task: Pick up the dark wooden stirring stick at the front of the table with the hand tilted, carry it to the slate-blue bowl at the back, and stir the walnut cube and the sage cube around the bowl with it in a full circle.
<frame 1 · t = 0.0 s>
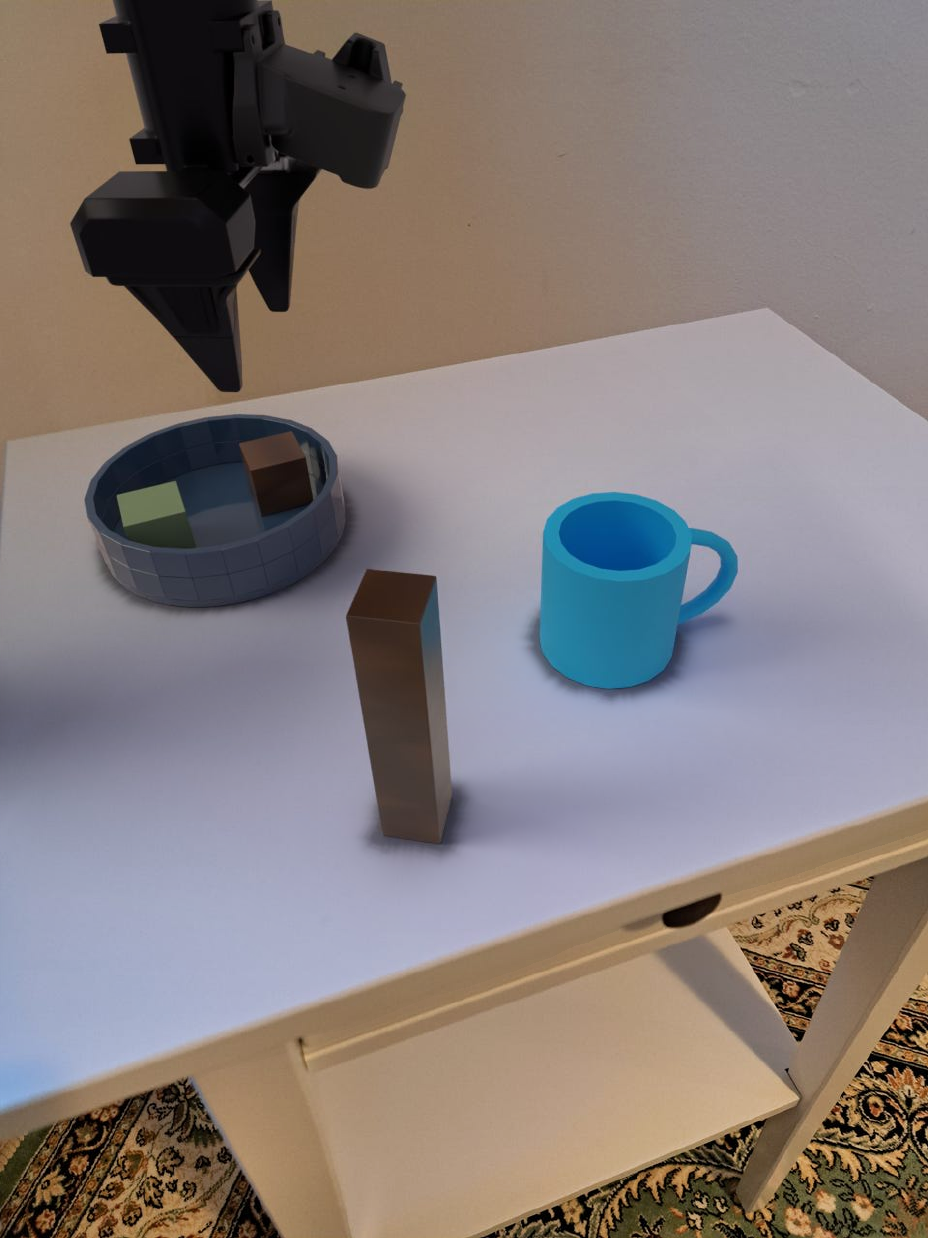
hand: (257, 347, 46), 18 cm above the table, tool pointing down, fingers open, 9 cm apart
stick: (418, 815, 45), on the table
bowl: (227, 528, 64), on the table
walnut cube: (281, 496, 66), point 1 cm above the table, touching bowl
sage cube: (166, 550, 62), point 1 cm above the table, touching bowl
mug: (635, 636, 55), on the table
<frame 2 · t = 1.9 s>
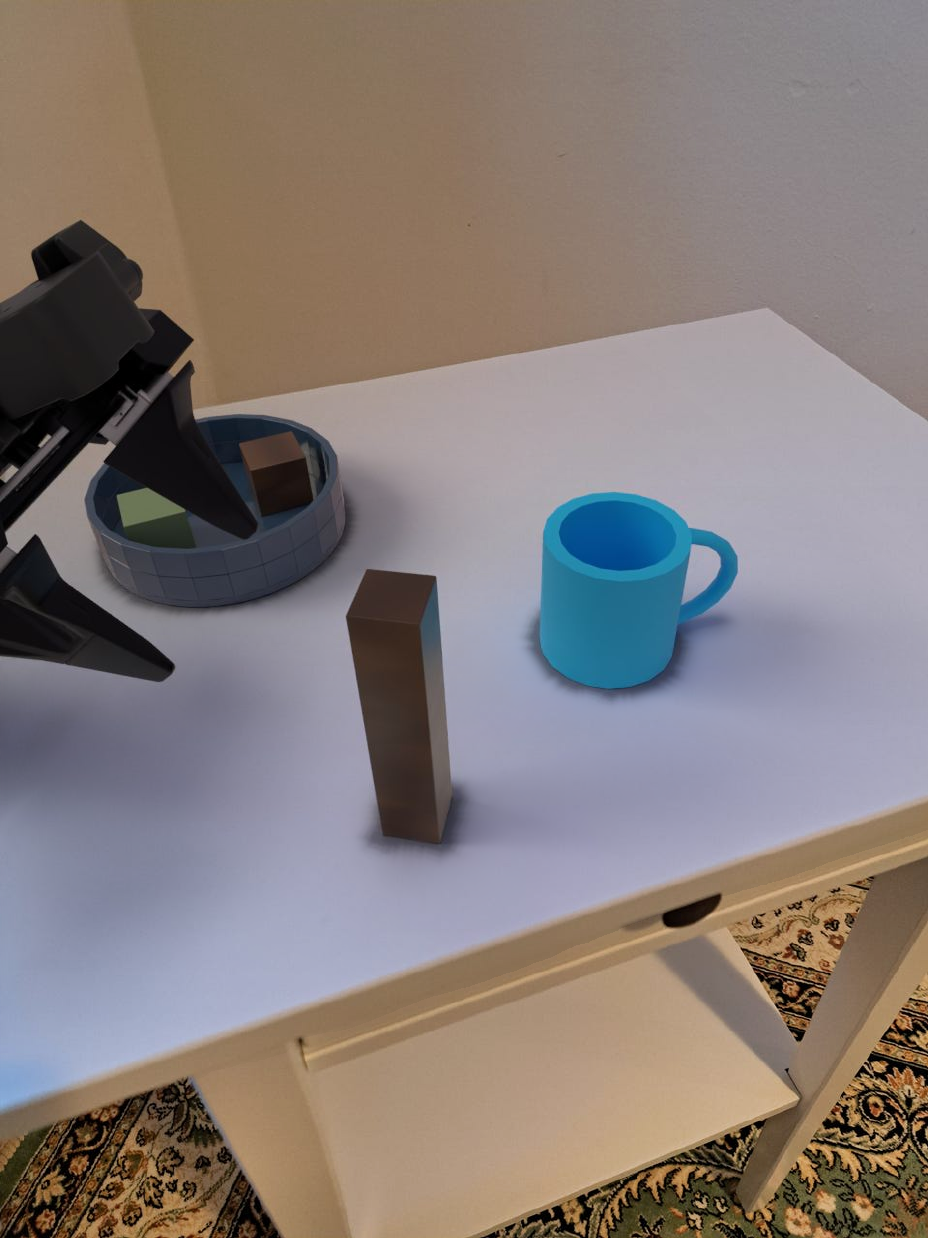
hand: (214, 598, 38), 13 cm above the table, tool tilted 45°, fingers open, 9 cm apart
nothing on the table moved.
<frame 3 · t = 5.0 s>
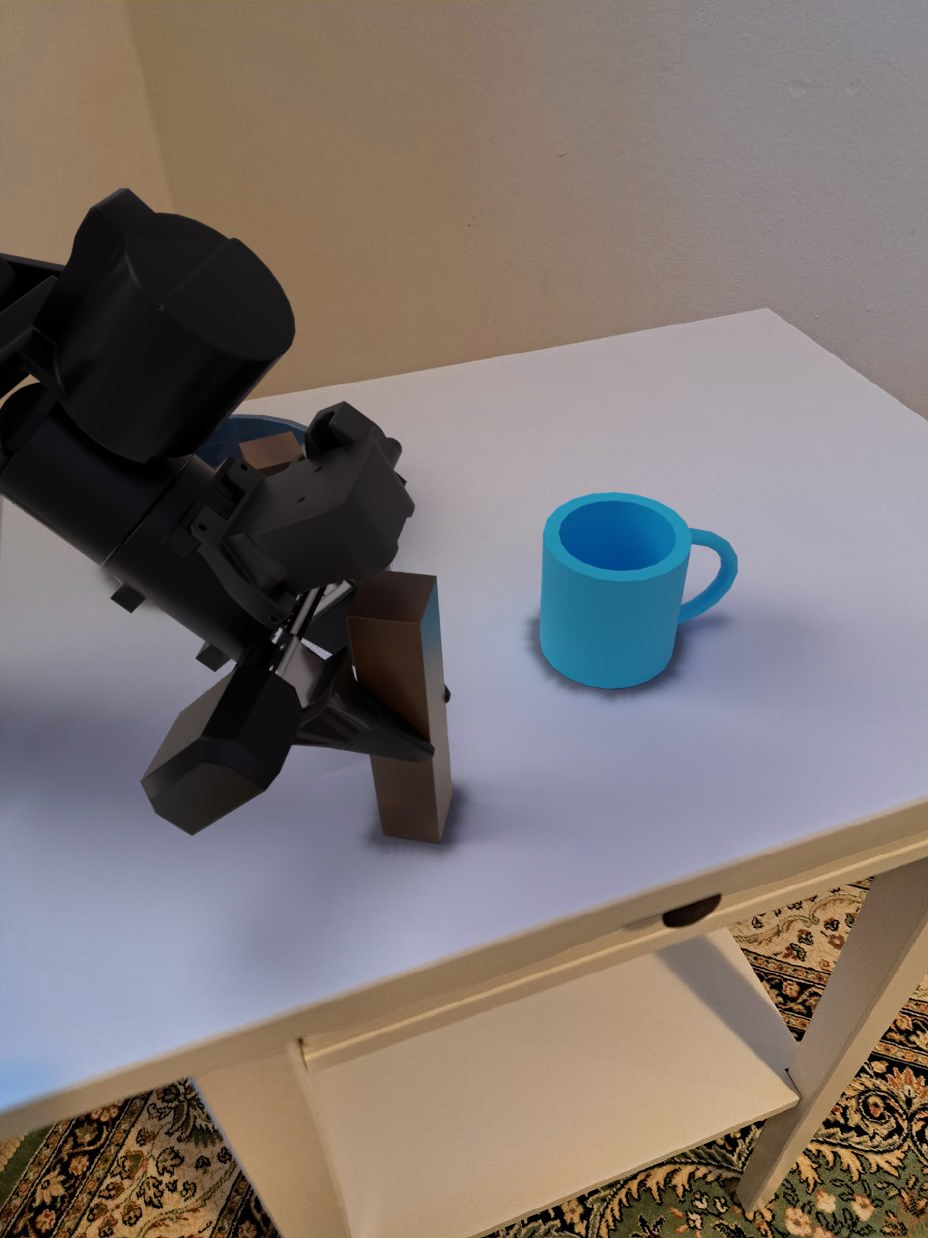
hand: (436, 729, 40), 7 cm above the table, tool tilted 45°, fingers closed on stick, 3 cm apart
stick: (418, 815, 45), on the table, touching gripper
everything else where it was.
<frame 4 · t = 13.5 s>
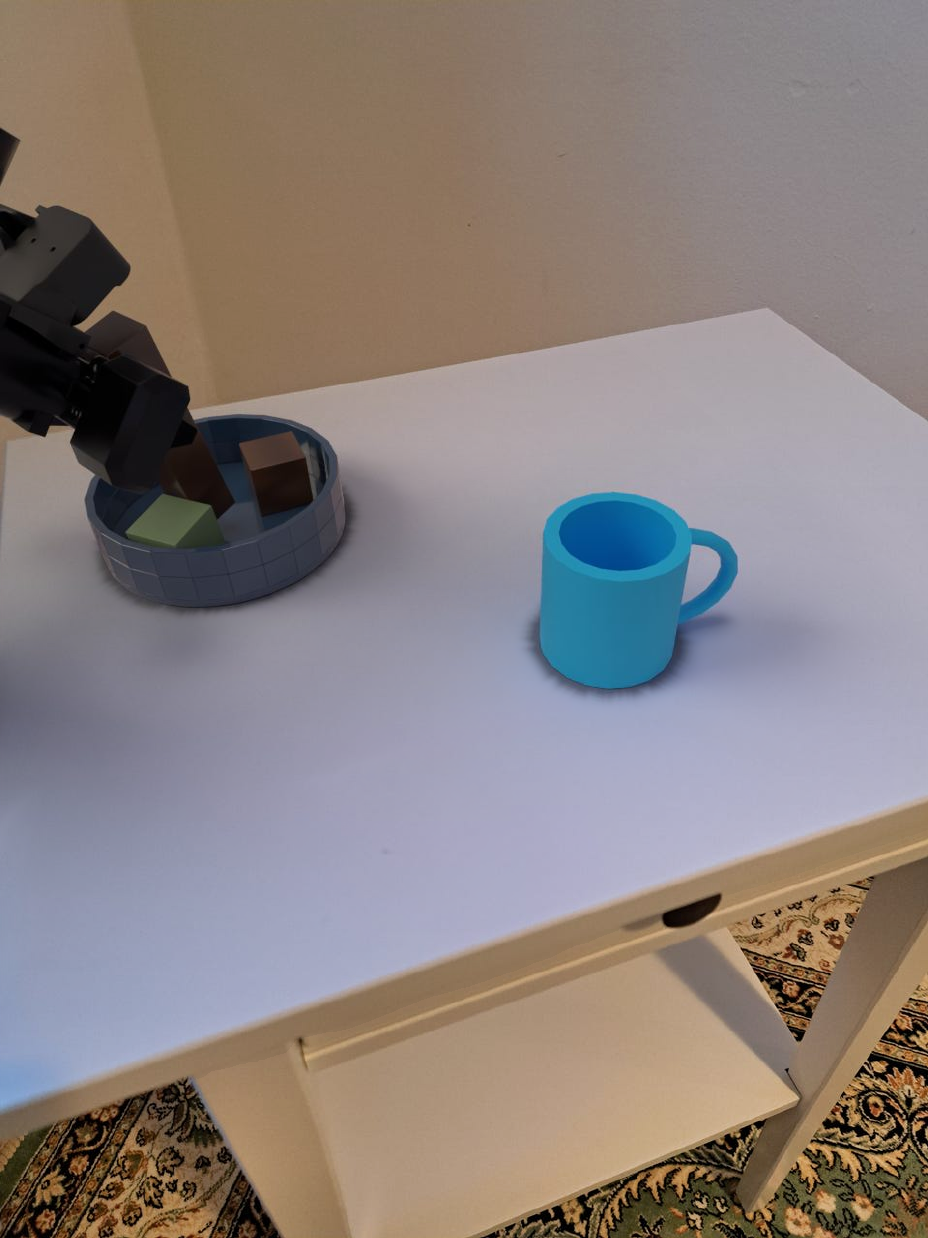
hand: (178, 426, 57), 10 cm above the table, tool tilted 45°, fingers closed on stick, 3 cm apart
stick: (206, 508, 62), point 2 cm above the table, tilted 14°, touching gripper, sage cube
sage cube: (188, 562, 60), point 1 cm above the table, tilted 6°, touching bowl, stick
everything else where it was.
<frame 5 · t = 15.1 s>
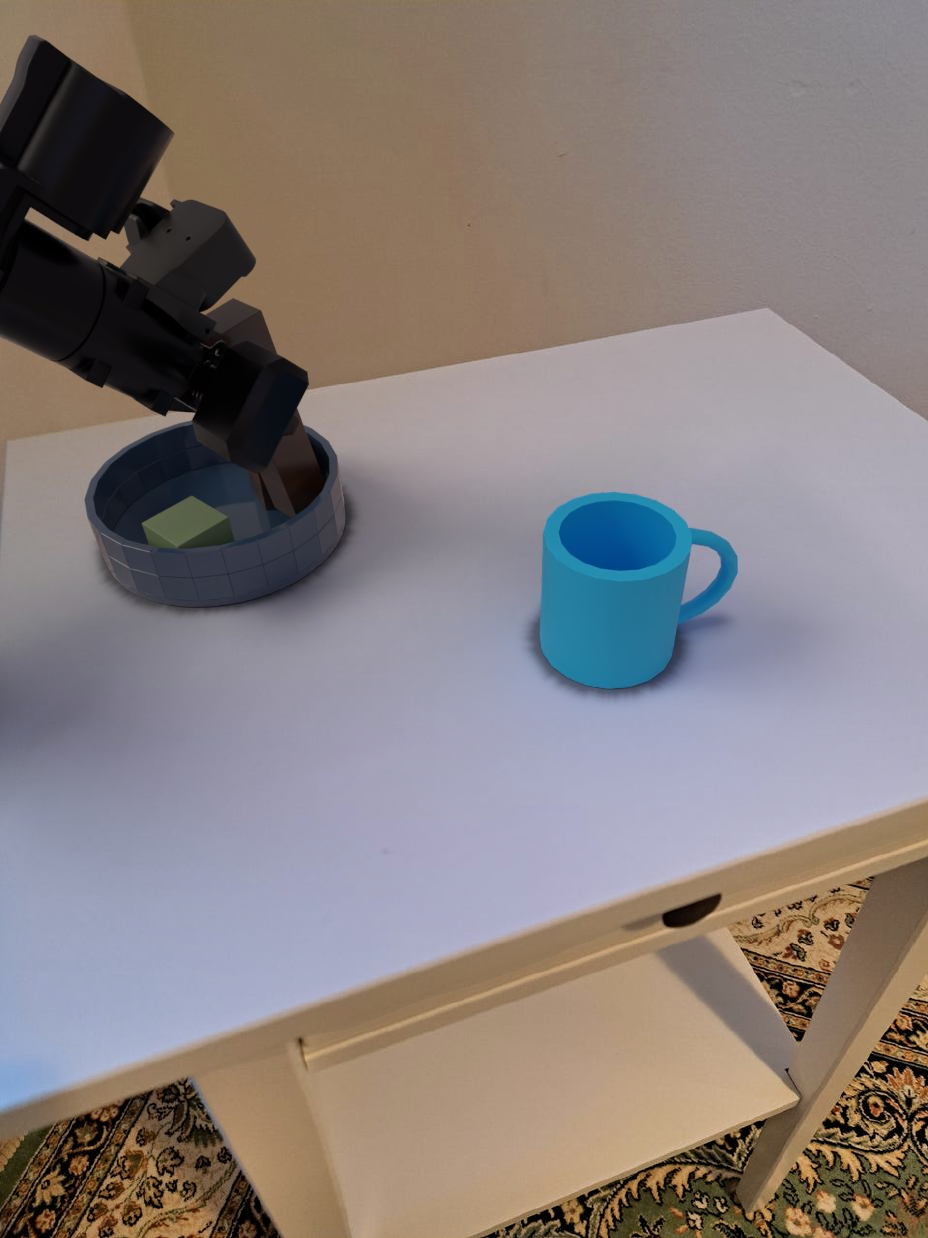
hand: (280, 418, 59), 9 cm above the table, tool tilted 45°, fingers closed on stick, 3 cm apart
stick: (303, 503, 64), point 2 cm above the table, tilted 10°, touching gripper, walnut cube
walnut cube: (283, 489, 67), point 1 cm above the table, touching bowl, stick
sage cube: (199, 567, 60), point 1 cm above the table, touching bowl
everything else where it was.
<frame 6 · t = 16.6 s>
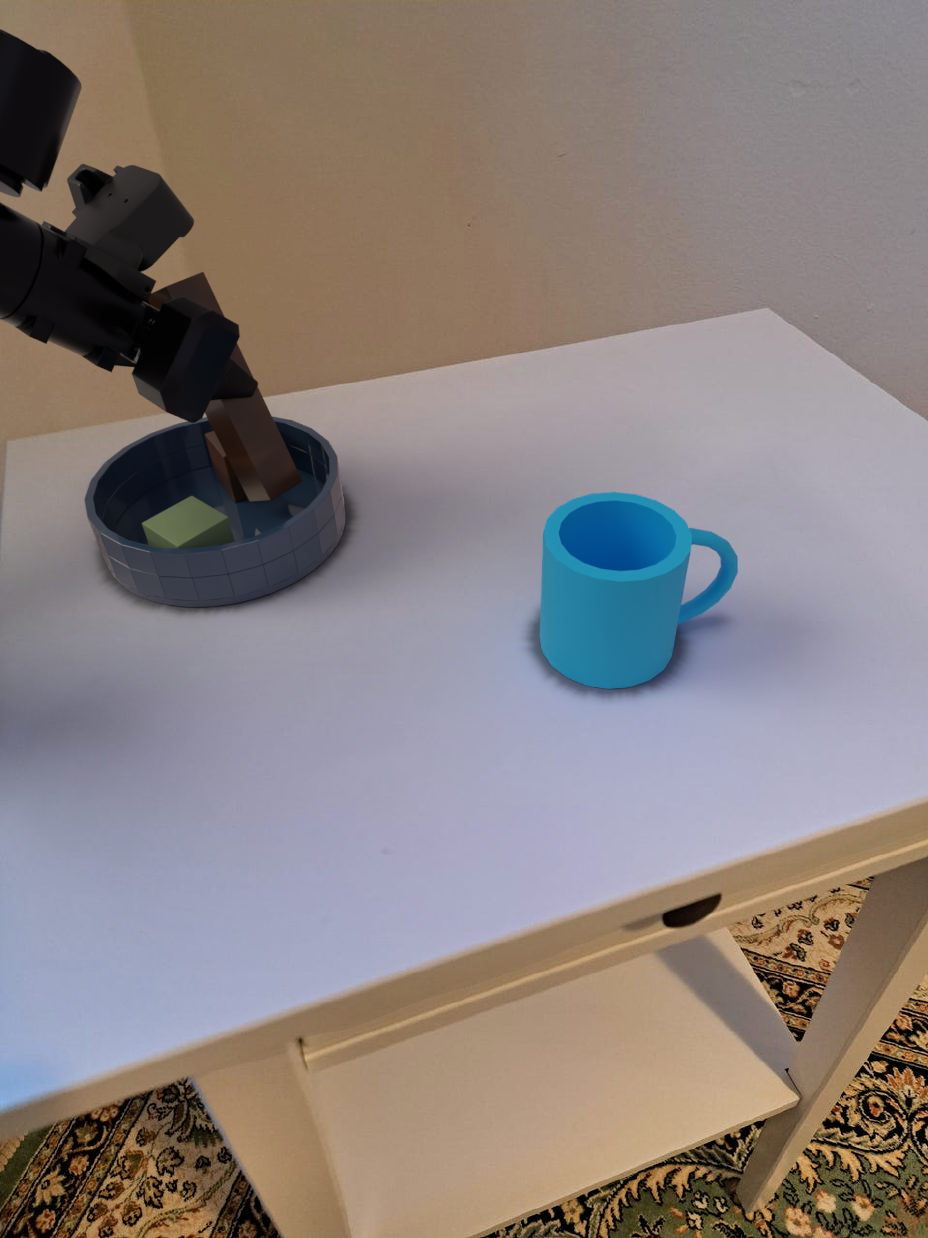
hand: (233, 377, 61), 9 cm above the table, tool tilted 45°, fingers closed on stick, 5 cm apart
stick: (276, 491, 63), point 2 cm above the table, tilted 25°, touching gripper, walnut cube
walnut cube: (250, 482, 68), point 1 cm above the table, touching bowl, stick
everything else where it was.
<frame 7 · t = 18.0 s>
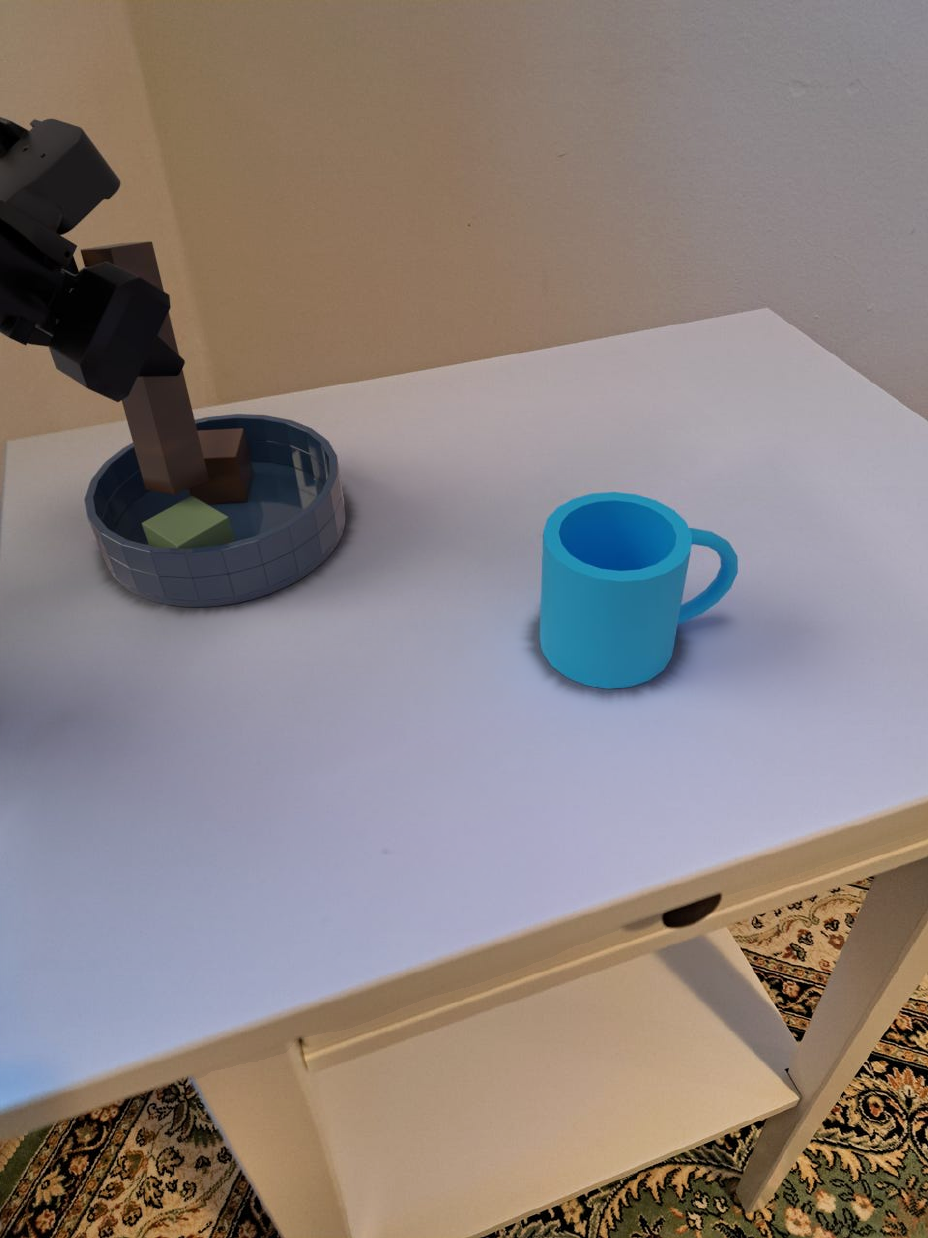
hand: (164, 359, 57), 13 cm above the table, tool tilted 45°, fingers closed on stick, 3 cm apart
stick: (177, 485, 59), point 5 cm above the table, tilted 16°, touching gripper
walnut cube: (224, 488, 67), point 1 cm above the table, touching bowl
everything else where it was.
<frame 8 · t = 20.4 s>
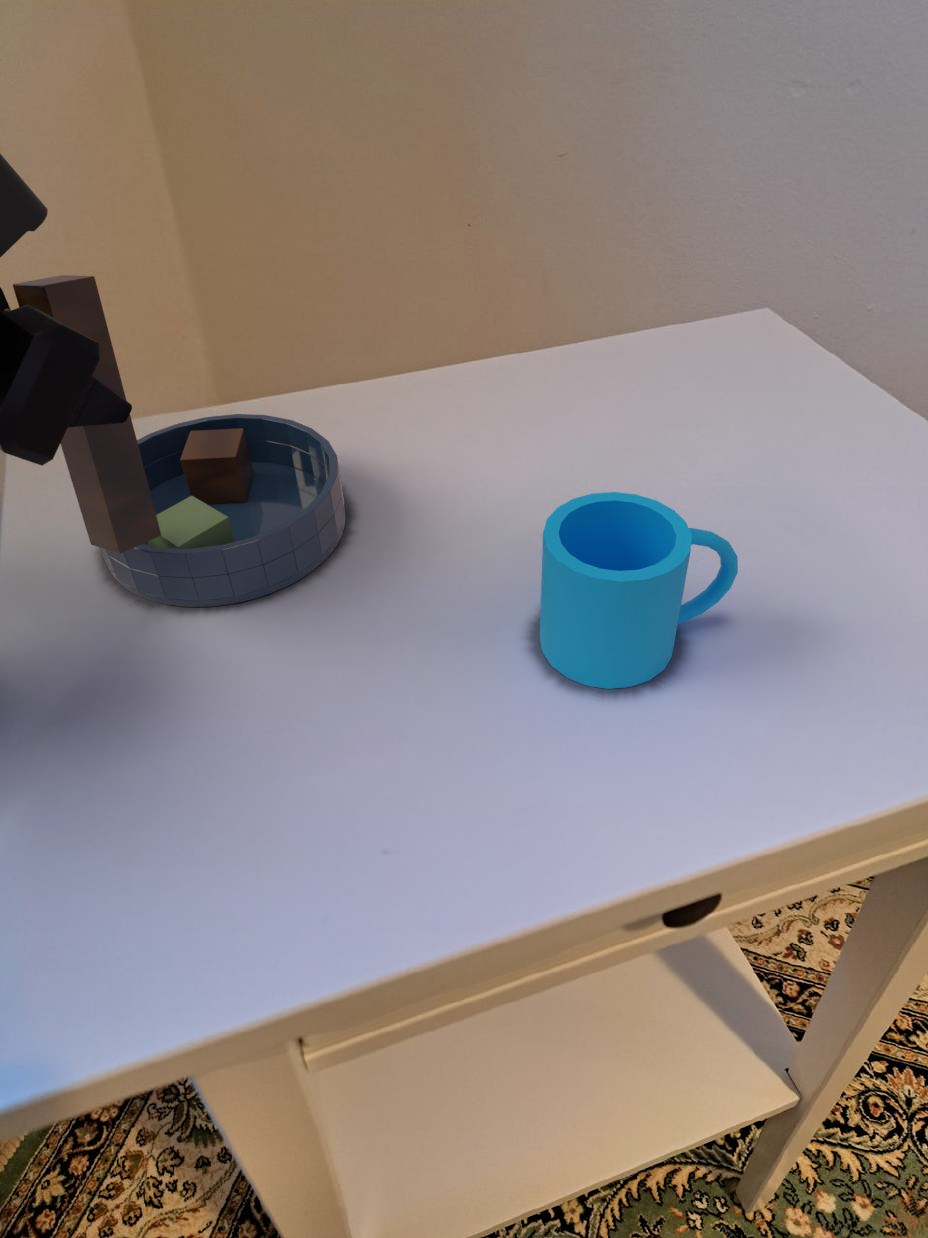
hand: (111, 402, 51), 14 cm above the table, tool tilted 45°, fingers closed on stick, 3 cm apart
stick: (126, 540, 54), point 6 cm above the table, tilted 14°, touching gripper
everything else where it was.
at the end: stick moved 25.0 cm from its start; walnut cube moved 4.7 cm from its start; walnut cube inside the target area in the bowl (4.4 cm from its centre), point 0.6 cm above the bowl's base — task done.
